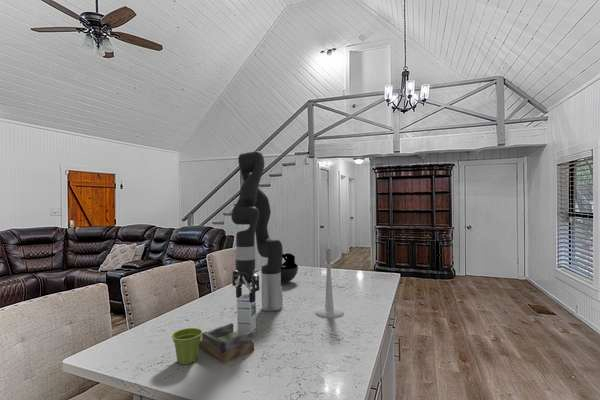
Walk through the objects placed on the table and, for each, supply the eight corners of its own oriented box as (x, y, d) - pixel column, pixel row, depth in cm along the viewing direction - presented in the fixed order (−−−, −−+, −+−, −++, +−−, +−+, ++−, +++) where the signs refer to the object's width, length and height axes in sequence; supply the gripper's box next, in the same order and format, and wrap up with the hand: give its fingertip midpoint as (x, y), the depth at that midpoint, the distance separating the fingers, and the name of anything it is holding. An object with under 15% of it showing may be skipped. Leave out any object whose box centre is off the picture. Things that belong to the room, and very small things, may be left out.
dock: (221, 334, 122) (221, 318, 122) (254, 350, 108) (253, 332, 109) (192, 344, 113) (192, 328, 113) (224, 363, 100) (223, 344, 100)
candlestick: (347, 310, 147) (346, 246, 148) (338, 319, 136) (337, 250, 136) (321, 307, 153) (320, 244, 153) (311, 315, 141) (310, 248, 141)
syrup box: (251, 337, 119) (251, 298, 119) (237, 336, 120) (236, 298, 120) (256, 331, 125) (256, 294, 125) (242, 330, 126) (242, 293, 126)
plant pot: (176, 354, 107) (176, 328, 107) (205, 352, 107) (205, 327, 107) (167, 368, 97) (167, 340, 97) (198, 366, 98) (198, 338, 98)
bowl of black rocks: (297, 286, 190) (297, 255, 190) (264, 287, 190) (264, 255, 190) (298, 278, 210) (298, 250, 210) (268, 279, 210) (268, 250, 210)
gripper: (264, 258, 121) (264, 301, 120) (242, 254, 130) (242, 294, 130) (248, 261, 115) (248, 305, 115) (226, 256, 125) (226, 298, 125)
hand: (245, 299), depth 123 cm, fingers open, 8 cm apart
